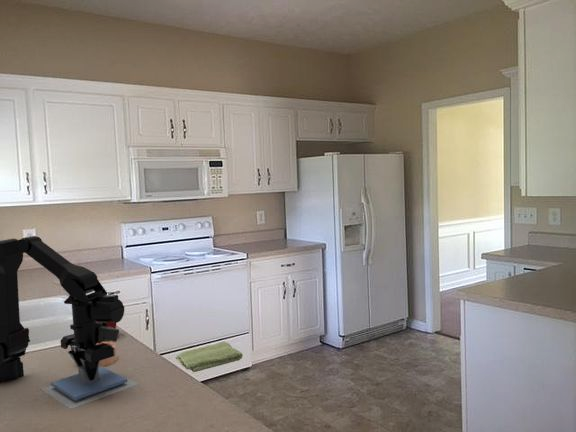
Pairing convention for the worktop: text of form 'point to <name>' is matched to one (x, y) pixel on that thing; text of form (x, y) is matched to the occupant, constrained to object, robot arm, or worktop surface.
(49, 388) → the mat
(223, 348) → the washcloth
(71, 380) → the cover sheet
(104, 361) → the bowl
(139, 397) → the worktop surface
